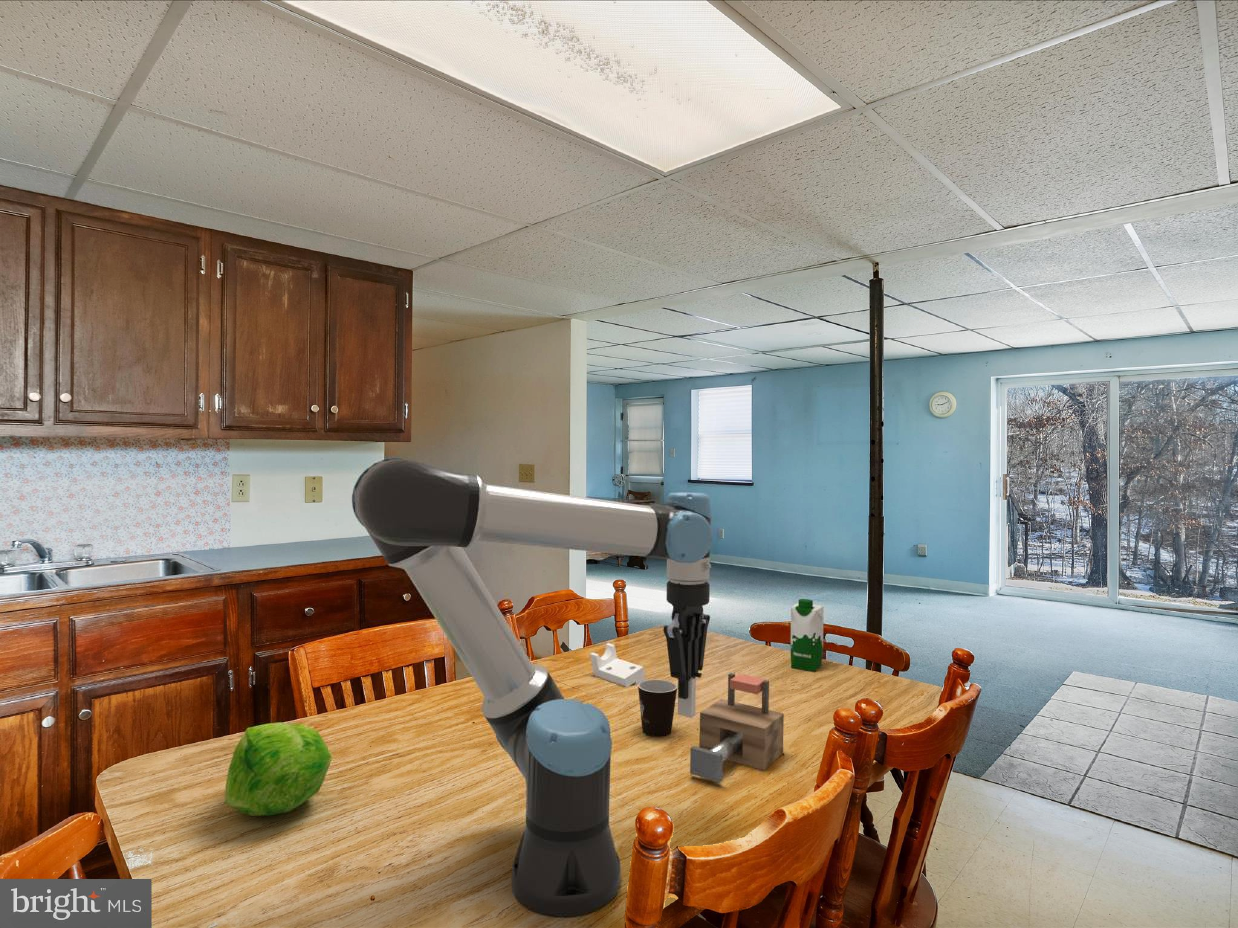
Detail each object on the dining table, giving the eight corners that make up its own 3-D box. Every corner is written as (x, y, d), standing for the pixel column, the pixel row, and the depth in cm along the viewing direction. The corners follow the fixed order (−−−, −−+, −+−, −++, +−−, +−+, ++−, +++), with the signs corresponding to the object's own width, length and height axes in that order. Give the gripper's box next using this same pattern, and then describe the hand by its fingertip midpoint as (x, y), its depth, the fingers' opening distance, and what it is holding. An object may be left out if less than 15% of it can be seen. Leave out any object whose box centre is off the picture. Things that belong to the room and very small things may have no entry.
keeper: (757, 694, 135) (757, 685, 135) (729, 688, 138) (730, 679, 138) (766, 687, 139) (766, 679, 139) (739, 682, 142) (740, 673, 142)
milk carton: (787, 668, 194) (788, 599, 194) (796, 660, 202) (797, 594, 202) (817, 673, 189) (818, 603, 189) (825, 665, 197) (826, 598, 197)
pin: (719, 782, 121) (719, 756, 121) (690, 773, 124) (690, 747, 124) (752, 753, 133) (753, 729, 133) (725, 746, 137) (725, 722, 137)
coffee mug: (673, 741, 141) (674, 693, 141) (634, 736, 143) (634, 690, 143) (680, 720, 152) (680, 677, 152) (642, 717, 154) (643, 673, 154)
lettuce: (296, 773, 124) (319, 702, 124) (322, 838, 108) (349, 757, 108) (207, 775, 115) (233, 699, 115) (222, 846, 99) (252, 758, 99)
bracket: (594, 678, 184) (589, 653, 183) (613, 667, 189) (608, 643, 188) (626, 691, 175) (622, 664, 174) (645, 678, 180) (640, 653, 178)
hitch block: (763, 770, 128) (765, 695, 128) (699, 751, 136) (700, 680, 136) (783, 752, 136) (784, 681, 136) (720, 735, 144) (722, 668, 144)
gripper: (689, 588, 109) (687, 732, 109) (723, 577, 120) (722, 708, 120) (650, 583, 113) (648, 721, 113) (687, 573, 124) (685, 699, 124)
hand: (686, 714), depth 116 cm, fingers closed
